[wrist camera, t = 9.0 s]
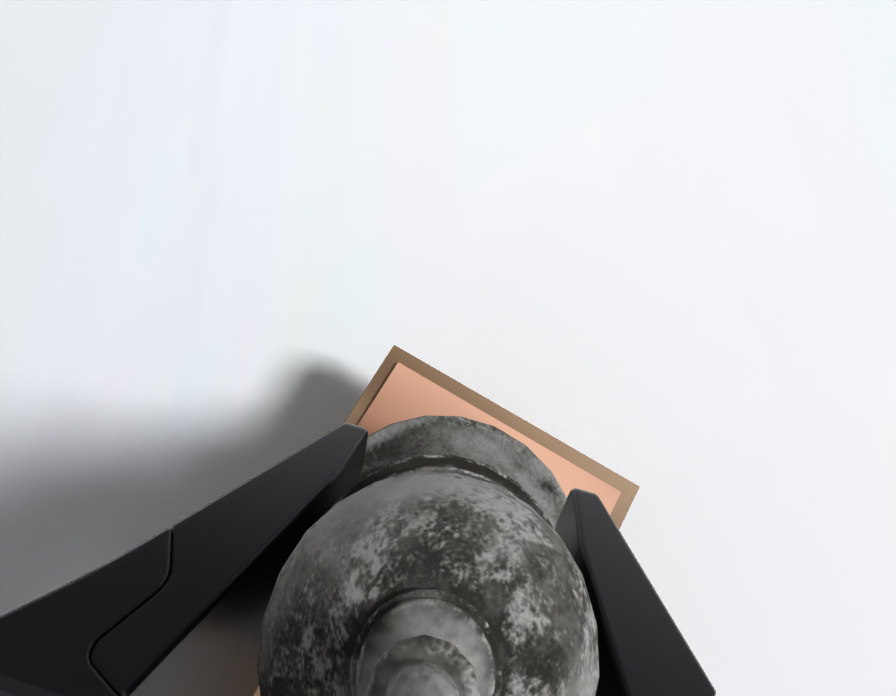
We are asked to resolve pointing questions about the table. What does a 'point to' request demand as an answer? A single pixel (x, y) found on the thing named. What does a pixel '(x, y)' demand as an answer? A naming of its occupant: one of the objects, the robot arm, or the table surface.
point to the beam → (433, 393)
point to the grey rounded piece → (434, 578)
